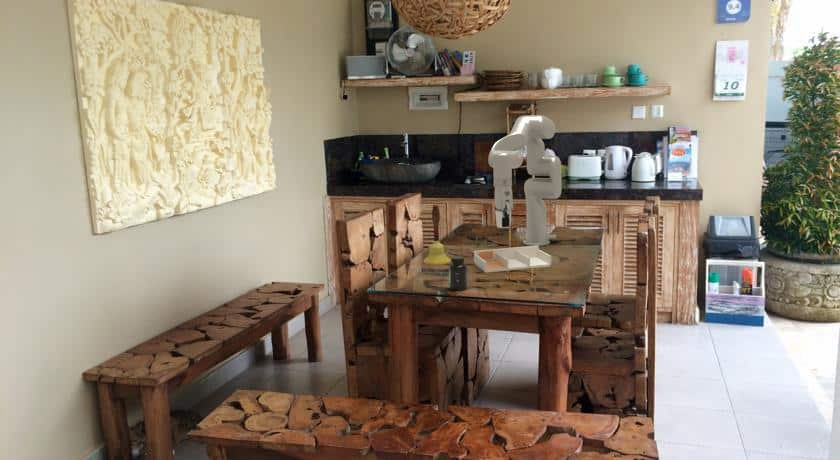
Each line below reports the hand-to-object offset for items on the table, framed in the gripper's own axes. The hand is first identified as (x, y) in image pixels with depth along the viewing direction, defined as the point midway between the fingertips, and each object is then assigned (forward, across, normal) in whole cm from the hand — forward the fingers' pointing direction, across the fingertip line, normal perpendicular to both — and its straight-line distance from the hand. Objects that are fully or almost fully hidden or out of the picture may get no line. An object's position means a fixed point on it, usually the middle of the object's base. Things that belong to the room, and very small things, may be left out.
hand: (503, 225), depth 298 cm
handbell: (+18, +20, +24) cm, 36 cm away
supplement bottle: (+18, -26, +28) cm, 42 cm away
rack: (+18, 0, -4) cm, 18 cm away
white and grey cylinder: (+1, 0, 0) cm, 1 cm away
